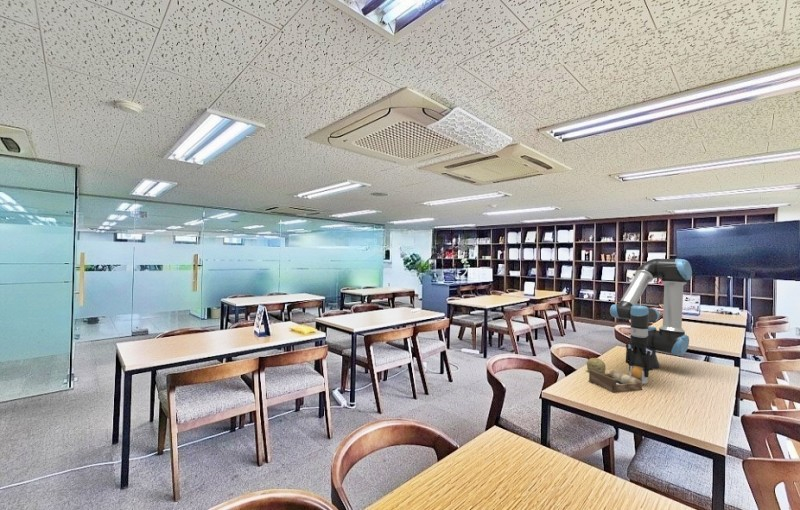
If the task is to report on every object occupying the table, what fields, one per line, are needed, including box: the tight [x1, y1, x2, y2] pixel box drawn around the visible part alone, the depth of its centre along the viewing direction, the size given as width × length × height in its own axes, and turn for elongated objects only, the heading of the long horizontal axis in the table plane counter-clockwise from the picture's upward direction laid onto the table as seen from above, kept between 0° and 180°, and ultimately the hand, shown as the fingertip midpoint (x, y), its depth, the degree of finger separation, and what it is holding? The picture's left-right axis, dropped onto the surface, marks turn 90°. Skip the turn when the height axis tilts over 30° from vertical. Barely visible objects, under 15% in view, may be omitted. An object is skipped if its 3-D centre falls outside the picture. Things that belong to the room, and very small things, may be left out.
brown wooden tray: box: [588, 369, 643, 394], centre depth 175 cm, size 17×15×6 cm
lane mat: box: [588, 380, 635, 393], centre depth 175 cm, size 17×15×1 cm
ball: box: [632, 366, 644, 379], centre depth 179 cm, size 6×6×6 cm
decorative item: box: [586, 357, 607, 374], centre depth 195 cm, size 10×10×10 cm
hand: (638, 380), depth 179 cm, fingers closed on ball, 6 cm apart
